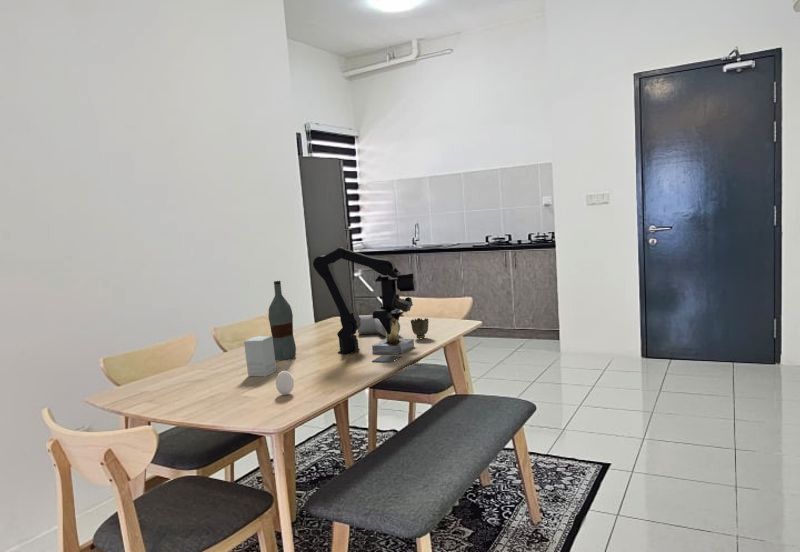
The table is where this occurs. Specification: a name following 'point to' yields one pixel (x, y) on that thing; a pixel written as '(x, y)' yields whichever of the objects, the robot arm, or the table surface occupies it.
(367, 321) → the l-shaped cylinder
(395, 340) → the brass cylinder
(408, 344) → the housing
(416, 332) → the cup
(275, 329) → the bottle
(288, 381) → the egg
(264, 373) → the supplement box
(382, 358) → the mat
